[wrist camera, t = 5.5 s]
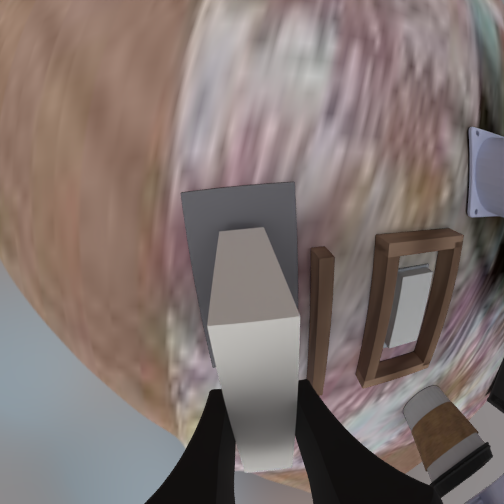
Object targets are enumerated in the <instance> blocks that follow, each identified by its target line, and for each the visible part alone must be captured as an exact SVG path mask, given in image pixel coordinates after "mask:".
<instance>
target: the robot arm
mask: <svg viewBox="0 0 504 504" xmlns="http://www.w3.org/2000/svg"><path fill="white" fill-rule="evenodd" d="M469 151H470V176H469V198H468V210H467V213H468V216H470V217H491V216H501V217H503V218H504V137H503V136H500V135H497V134H494V133H491V132H488V131H485V130H482V129H479V128H475V127H470V128H469ZM295 436H296V439H297V443H298V446H299V449H300V452H301V455H302V459H303V462H304V465H305V468H306V471H307V475H308V478H309V482H310V487H311V493H312V498H313V504H443V502H442V500H441V498H440V496H439V494H438V493H437V491H436V490H435V489H434V487H432V486H430V485H427V484H425V483H422V482H420V481H418V480H416V479H414V478H412V477H410V476H408V475H406V474H404V473H402V472H400V471H399V470H397V469H395V468H394V467H392V466H391V465H389V464H388V463H386V462H384V461H383V460H381V459H380V458H379V457H377V456H376V455H375V454H373V453H372V452H371V451H369V450H368V449H367V448H366V447H365V446H363V445H362V444H361V443H360V442H359V441H358V440H357V439H356V438H355V437H353V436H352V435H351V434H350V433H349V432H348V431H347V430H346V428H345V427H344V426H343V425H342V424H341V423H340V422H339V421H338V420H337V419H336V417H335V416H334V415H333V414H332V413H331V411H330V410H329V409H328V408H327V406H326V405H325V404H324V402H323V401H322V400H321V398H320V397H319V396H318V394H317V393H316V391H315V390H314V388H313V386H312V385H311V383H310V381H309V380H307V379H305V380H299V381H298V397H297V414H296V428H295ZM235 444H236V441H235V437H234V434H233V430H232V427H231V423H230V420H229V416H228V412H227V408H226V405H225V401H224V397H223V393H222V389H213V390H211V391H210V392H209V396H208V399H207V403H206V406H205V408H204V411H203V414H202V416H201V419H200V421H199V423H198V425H197V428H196V430H195V432H194V434H193V436H192V438H191V440H190V442H189V444H188V446H187V448H186V450H185V452H184V453H183V455H182V457H181V458H180V460H179V462H178V463H177V465H176V466H175V468H174V469H173V471H172V472H171V473H170V475H169V476H168V477H167V479H166V480H165V481H164V483H163V484H162V485H161V486H160V488H159V489H158V490H157V491H156V492H155V493H154V494H153V495H152V496H151V497H150V498H149V499H148V500H147V502H146V503H145V504H235V497H234V469H235ZM464 504H504V474H503V475H501V476H500V477H499V478H498V479H497V480H496V481H494V482H493V483H492V484H491V485H489V486H488V487H486V488H485V489H483V490H482V491H481V492H479V493H478V494H477V495H475V496H474V497H472V498H471V499H470V500H468V501H467V502H465V503H464Z"/></svg>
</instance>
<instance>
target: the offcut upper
mask: <svg viewBox="0 0 504 504" xmlns="http://www.w3.org/2000/svg"><path fill="white" fill-rule="evenodd" d="M432 274H433V271H431V270H430V269H428V268H427V267H424V268H418V269H412V270H406V271H400V272H398V274H397V281H396V287H395V293H394V299H393V304H392V310H391V315H390V320H389V324H388V329H387V333H386V338H385V344H386V345H387V347H388V348H392V347H395V346H399V345H402V344H406V343H409V342H413V341H416V340H417V337H418V334H419V330H420V327H421V323H422V319H423V316H424V312H425V307H426V303H427V299H428V294H429V290H430V285H431V279H432Z"/></svg>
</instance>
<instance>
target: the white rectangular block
mask: <svg viewBox="0 0 504 504" xmlns="http://www.w3.org/2000/svg"><path fill="white" fill-rule="evenodd" d="M207 328H208V332H209V337H210V342H211V346H212V351H213V355H214V360H215V364H216V368H217V372H218V377H219V381H220V385H221V389H222V393H223V397H224V401H225V405H226V408H227V412H228V416H229V420H230V423H231V427H232V430H233V434H234V437H235V441H236V444H237V448H238V451H239V454H240V458H241V461H242V464H243V467H244V471H245V473H250V472H261V471H270V470H278V469H285V468H292V464H293V453H294V441H295V428H296V414H297V397H298V376H299V348H300V314H299V312H298V309H297V307H296V304H295V302H294V299H293V297H292V295H291V292H290V290H289V287H288V285H287V282H286V280H285V277H284V275H283V272H282V270H281V268H280V265H279V263H278V260H277V258H276V255H275V253H274V251H273V248H272V246H271V243H270V241H269V239H268V236H267V234H266V231H265V229H264V227H259V228H249V229H239V230H229V231H219V237H218V244H217V251H216V259H215V266H214V274H213V281H212V289H211V297H210V306H209V314H208V323H207Z"/></svg>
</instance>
